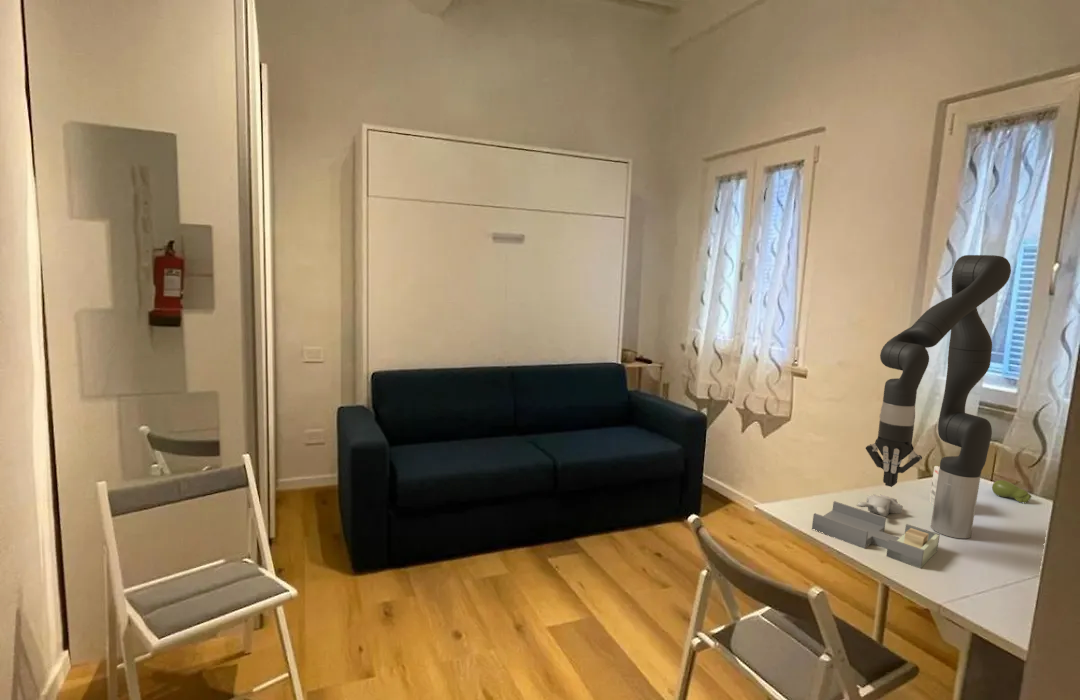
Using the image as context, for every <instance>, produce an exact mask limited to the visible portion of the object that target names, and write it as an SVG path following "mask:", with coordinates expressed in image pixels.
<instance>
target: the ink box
mask: <svg viewBox="0 0 1080 700" xmlns="http://www.w3.org/2000/svg"><path fill="white" fill-rule="evenodd" d="M933 466H934V465H933ZM939 468H940V465H939V466H938V465H935V466H934V467H933V473H932V481H931V490H930V495H929V502H930V504H932V505H933V506H934V501H935V494H936V488H937V481H938V474H939Z"/></svg>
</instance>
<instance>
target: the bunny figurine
mask: <svg viewBox="0 0 1080 700" xmlns="http://www.w3.org/2000/svg"><path fill="white" fill-rule="evenodd" d="M856 506H857V508H858V507H859V508H866V509H867V512H870V513H874V514H877V515H880V516H883V517H887V516H889V514H902V512H903V507H904V506H903V505H901V504H900V503H898V500H897V499H896V498H894V497H889V496H886V495H883V494H880V495H876V494H871V495H867V498H866V502H865V501H858V503H857V504H856Z"/></svg>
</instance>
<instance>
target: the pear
mask: <svg viewBox="0 0 1080 700" xmlns="http://www.w3.org/2000/svg"><path fill="white" fill-rule="evenodd" d="M991 486H992V487H991V488H992V492H993V493H994V494H995V495H996V496H997V497H1000V496H1001V498H1012V499H1014V500H1016V501H1017V502H1018V501H1019V502H1018V503H1020V502H1026V503H1028V502H1029V500H1030V499H1031V498H1032V497H1033V495H1031V493H1029V492H1028V491H1027V490H1025V489H1024V488H1021V487H1019V486H1017V485H1016V484H1014V483H1012V482H1010V481H1007V480H1005V479H1004V480H1002V479H998V480H995V482H993V484H992V485H991Z"/></svg>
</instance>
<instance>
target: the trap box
mask: <svg viewBox="0 0 1080 700" xmlns="http://www.w3.org/2000/svg"><path fill="white" fill-rule="evenodd" d="M832 502H833V503H832V509H831V510H830V511H829V512H827V513H825V514H824V515H822V514H819V513H816V512H815V513H813V517H812V525H811V530H812V529H815V530H817V531H820V532H823V533H825V534H824V535H826V534H827V536H828V535H830V536H829V537H831V536H832V538H834V537H835V539H837V540H840V541H842V540H843V542H844V543H845V542H846V543H848V544H851V545H854V546H856V547H860V548H863V549H866V548H867V547H869V546H870V545H871V544H872V545H874V546H877V547H881V548H883V549H886V555H885V556H886V557H888V558H891V559H893V560H896V561H899V562H901V563H904V564H907V565H909V566H913V567H915V568H919V569H922V568H923V567H924V565H925V564H926V563H927V562H928V561H929V560H930V559H931V558H932V557H933V556H934V555H935V554H936V553H937V552H938V549H939V542H940V535H941V533H938V532H937V533H936V532H935V531H934V532H933V531H930V530H927V529H924V528H921V527H919V526H914V525H911V524H908V523H906V524H905V529H904V533H903V534H902V535H901V536H900V537H899V536H897V535H893V534H889V533H887V532H885V528H886V521H887V516H880V514H877V513H871V512H870V511H868V510H864V509H862V508H861V509H860V508H858V507H854V506H851V505H848V504H844V503H841V502H838V501H835V500H834V501H832ZM910 528H912V529H915V530H919V531H922V532H925V533H928V534H929V536H928V542H927V543H926V544H925V545H924V546H923V547H922V548H921V549H920V548H917V547H914V546H911V545H908V544H905V543H904V539H905V532H906V531H908V530H909V529H910ZM817 531H816V532H817ZM820 532H819V533H820ZM823 533H822V534H823Z"/></svg>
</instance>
